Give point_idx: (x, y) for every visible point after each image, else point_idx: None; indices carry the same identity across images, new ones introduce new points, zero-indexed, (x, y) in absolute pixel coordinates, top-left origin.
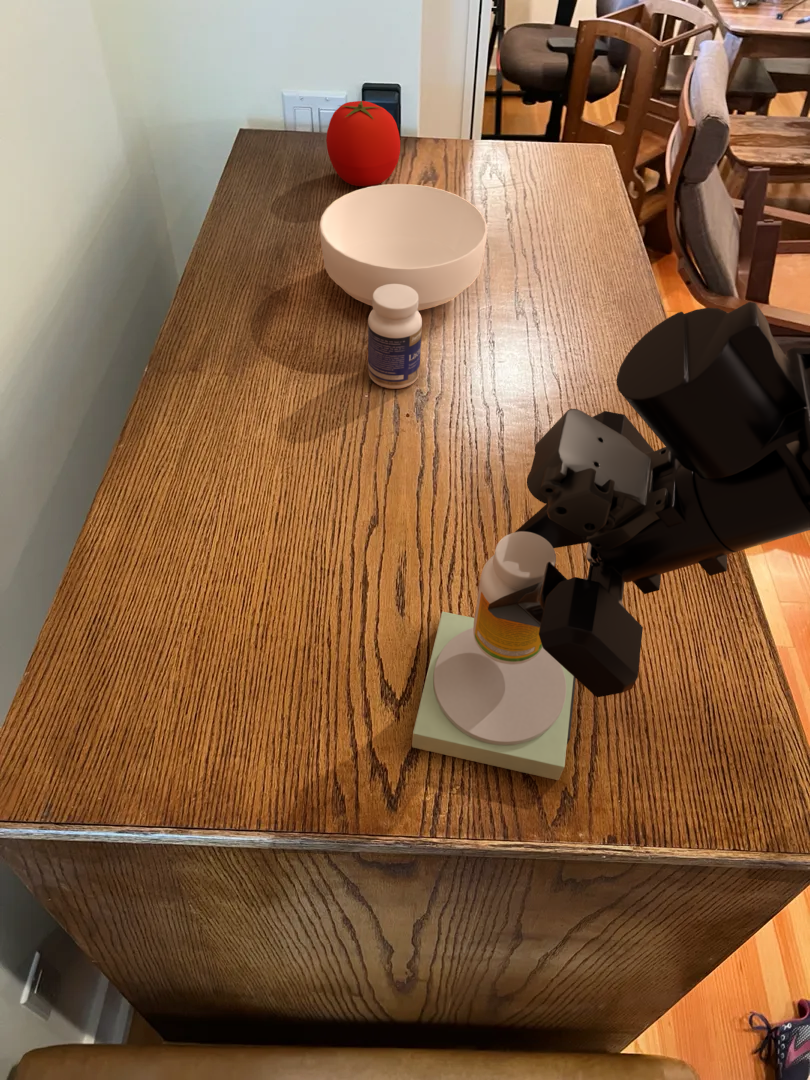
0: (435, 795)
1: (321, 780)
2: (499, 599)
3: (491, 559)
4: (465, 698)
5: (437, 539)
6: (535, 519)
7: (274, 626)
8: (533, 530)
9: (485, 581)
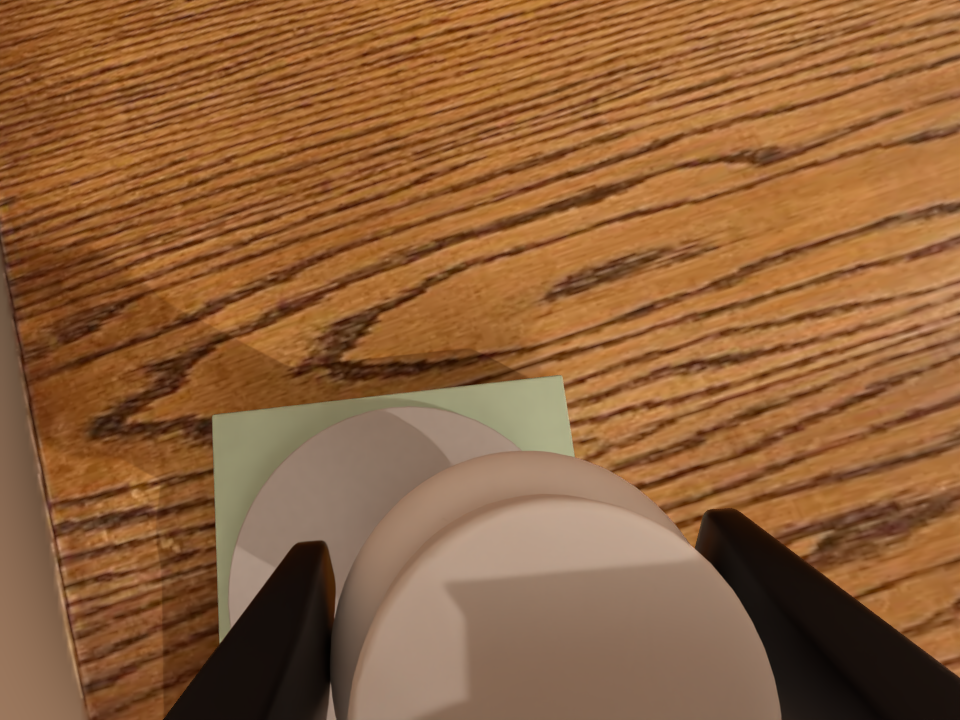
0: (145, 507)
1: (119, 276)
2: (296, 602)
3: (573, 478)
4: (323, 509)
5: (784, 304)
6: (910, 701)
7: (422, 68)
8: (825, 685)
9: (437, 487)
